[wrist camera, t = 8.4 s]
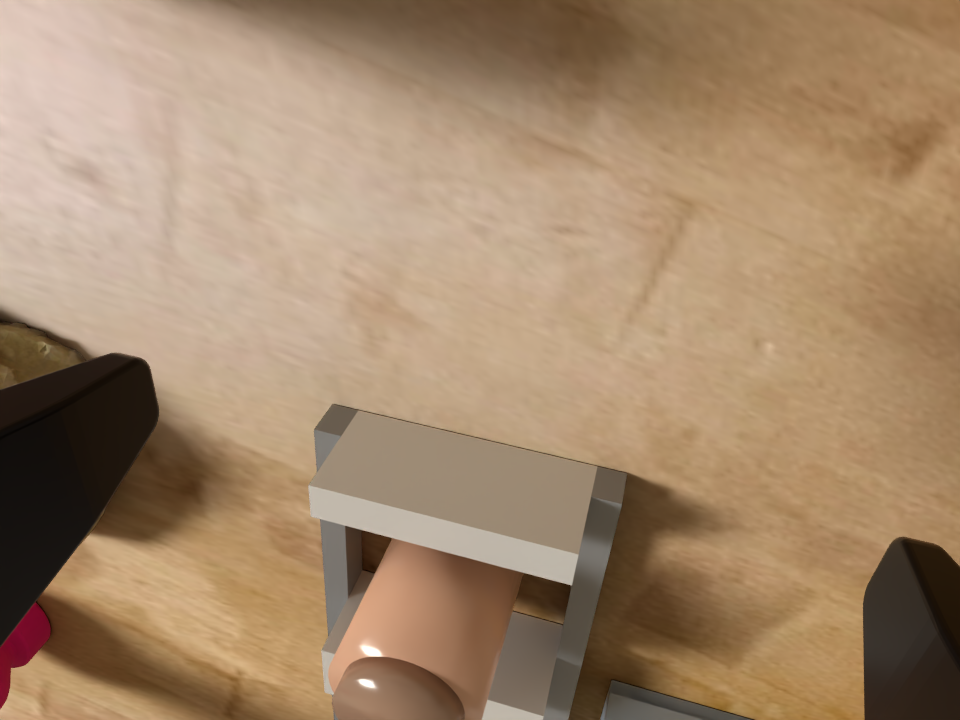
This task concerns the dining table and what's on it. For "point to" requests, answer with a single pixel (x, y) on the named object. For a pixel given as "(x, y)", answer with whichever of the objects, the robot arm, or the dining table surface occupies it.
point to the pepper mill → (22, 645)
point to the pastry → (32, 357)
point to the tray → (654, 706)
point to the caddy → (469, 535)
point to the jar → (424, 638)
